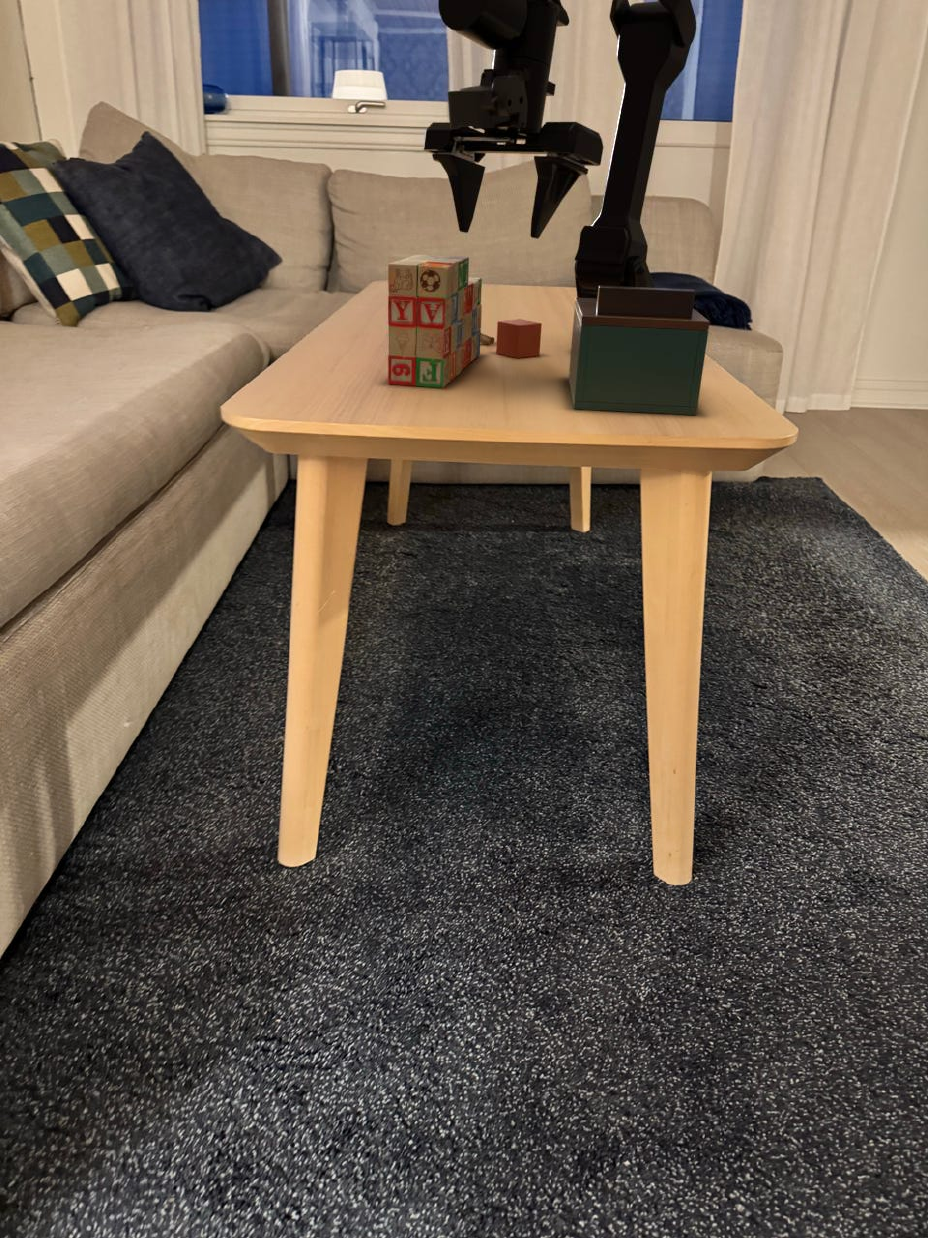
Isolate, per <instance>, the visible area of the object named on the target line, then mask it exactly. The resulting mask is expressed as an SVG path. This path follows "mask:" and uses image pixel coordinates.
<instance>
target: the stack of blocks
mask: <svg viewBox="0 0 928 1238" xmlns="http://www.w3.org/2000/svg"><path fill="white" fill-rule="evenodd" d="M469 263H470V257H469V256H456V255H455V256H454V255H435V254H433V255H432V254H420V253H419V254H418V253H417V254H414V255H412V256H407V257H405V258H403V259H400V260H395V261H392V262H390V263H388V265H387V267H388V269H387V270H388V271H387V275H388V276H387V277H388V278H387V283H388V284H387V285H388V286H387V291H388V296H387V320H388V321H387V325H388V354H387V367H388V368H387V369H388V370H387V372H388V373H387V380H388V381H387V383H388V384H389V385H399V386H410V387H411V386H414V387H415V386H417V387H426V388H437V389H438V388H439V389H442V388H443V389H444V388H446V386H447V385H448V384H449V383H451V382H452V381H453V380H455V378H456V377H458V375H460V374H461V373H462V371H463V370H464V369H465V368H466V367H467V366H468V365H469V364H470V363H471V362H473V361H474V360H475V359H476V358H477V357H478V356H479V355H480V354H481V342H480V336H481V333H482V330H481V329H482V313H483V311H482V310H483V304H482V289H483V288H482V287H483V285H482V282H483V279H482V277H475V276H469V266H470V264H469Z"/></svg>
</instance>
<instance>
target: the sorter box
mask: <svg viewBox="0 0 928 1238" xmlns="http://www.w3.org/2000/svg"><path fill="white" fill-rule="evenodd" d="M708 336H709V330H692V329H670V328H648V327H626V326H604V325H582V324H581V322H580V319H579V316H578V312H577V309H576V306H575V305H574V309H573V323H572V335H571V347H570V358H569V371H568V372H569V373H568V383H569V389H570V395H571V400H572V407H573V410H582V411H584V410H585V411H586V410H587V411H604V412H622V413H623V412H625V413H643V414H645V413H646V414H663V415H685V416H696V415H697V412H698V404H699V399H700V392H701V385H702V379H703V370H704V366H705V365H704V364H705V358H706V351H707V343H708V338H709V337H708Z"/></svg>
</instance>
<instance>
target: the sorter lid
mask: <svg viewBox="0 0 928 1238" xmlns="http://www.w3.org/2000/svg"><path fill="white" fill-rule="evenodd" d="M695 298H696V291H695V289H688V288H666V287H655V288H645V287H622V286H599V287H598V298H577V297H575V298H574V307H575V306H576V309H577V312H578V316H579V319H580V322H581V324H582V325H604V326H626V327H648V328H670V329H692V330H708V331H709V329H710V324H711V321H710V320H708V319H707V318H706V317H704V316H703V315H702V314H701V313H699V312H698V311H697V310H696V309H695V308H694V305H695Z"/></svg>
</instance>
